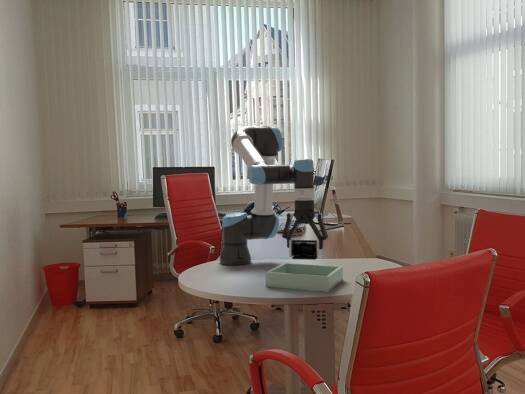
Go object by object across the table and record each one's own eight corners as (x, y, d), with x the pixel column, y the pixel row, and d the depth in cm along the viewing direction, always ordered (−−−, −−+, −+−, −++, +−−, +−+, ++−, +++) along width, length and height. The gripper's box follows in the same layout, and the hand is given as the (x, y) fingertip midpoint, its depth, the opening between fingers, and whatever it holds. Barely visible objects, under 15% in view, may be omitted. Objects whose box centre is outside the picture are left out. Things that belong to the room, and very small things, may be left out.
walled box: (265, 286, 190) (265, 272, 190) (284, 275, 209) (284, 262, 209) (328, 292, 181) (328, 276, 181) (342, 280, 200) (342, 266, 199)
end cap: (319, 256, 197) (319, 239, 196) (316, 259, 190) (316, 241, 189) (294, 255, 199) (294, 238, 199) (290, 259, 192) (290, 241, 192)
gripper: (272, 199, 194) (273, 257, 195) (330, 200, 185) (331, 260, 186) (279, 198, 201) (280, 254, 202) (336, 199, 192) (336, 256, 193)
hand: (305, 257), depth 194 cm, fingers closed on end cap, 10 cm apart
